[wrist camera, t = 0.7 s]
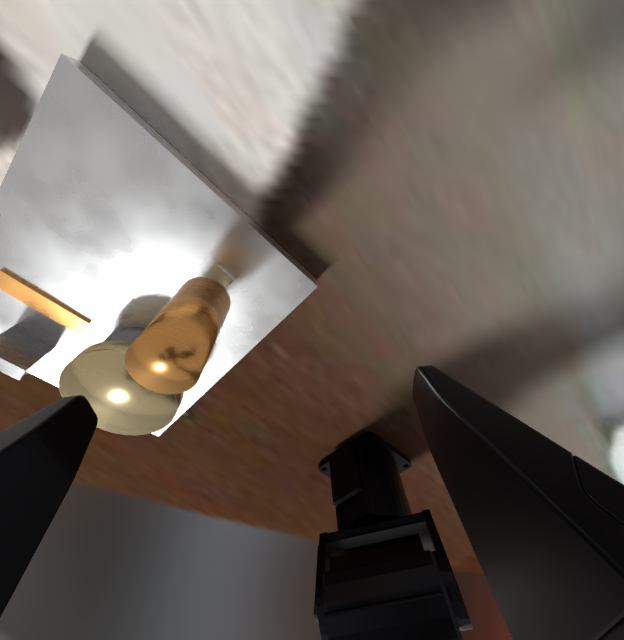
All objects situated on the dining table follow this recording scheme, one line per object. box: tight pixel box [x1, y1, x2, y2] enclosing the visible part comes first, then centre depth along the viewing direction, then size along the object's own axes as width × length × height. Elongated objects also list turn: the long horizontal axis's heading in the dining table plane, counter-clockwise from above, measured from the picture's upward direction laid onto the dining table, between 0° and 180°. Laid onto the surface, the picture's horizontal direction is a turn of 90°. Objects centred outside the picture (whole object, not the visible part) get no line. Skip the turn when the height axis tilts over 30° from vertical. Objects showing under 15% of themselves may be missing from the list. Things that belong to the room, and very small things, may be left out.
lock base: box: [0, 54, 318, 437], centre depth 17 cm, size 15×18×4 cm
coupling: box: [58, 277, 231, 435], centre depth 15 cm, size 12×6×6 cm, turn 135°
